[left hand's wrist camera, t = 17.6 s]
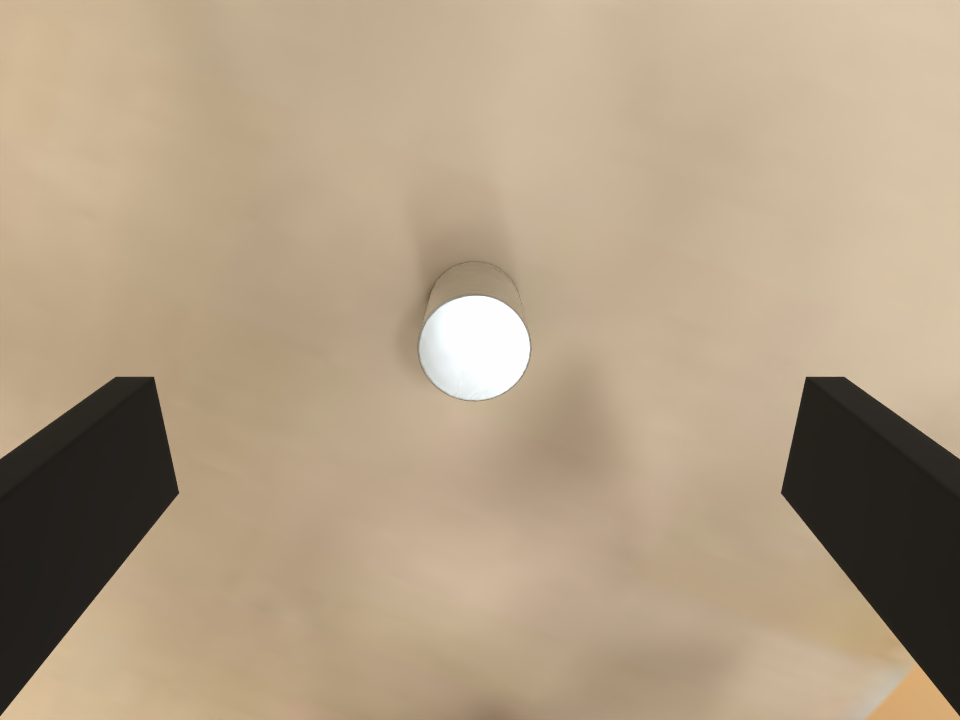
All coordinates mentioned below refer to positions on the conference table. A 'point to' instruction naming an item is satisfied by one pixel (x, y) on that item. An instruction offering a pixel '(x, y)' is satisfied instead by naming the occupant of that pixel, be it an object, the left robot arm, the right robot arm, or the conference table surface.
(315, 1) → the conference table surface
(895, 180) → the conference table surface
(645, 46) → the conference table surface
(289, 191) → the conference table surface
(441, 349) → the can
